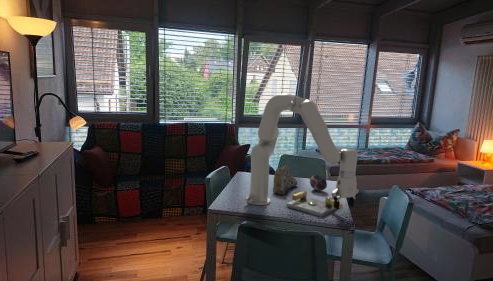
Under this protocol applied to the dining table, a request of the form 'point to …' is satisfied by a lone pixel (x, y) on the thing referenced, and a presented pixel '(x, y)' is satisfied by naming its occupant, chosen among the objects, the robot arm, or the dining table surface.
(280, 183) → the rock
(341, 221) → the dining table surface
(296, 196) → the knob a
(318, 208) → the levelling base
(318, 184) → the mineral specimen
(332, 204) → the knob
